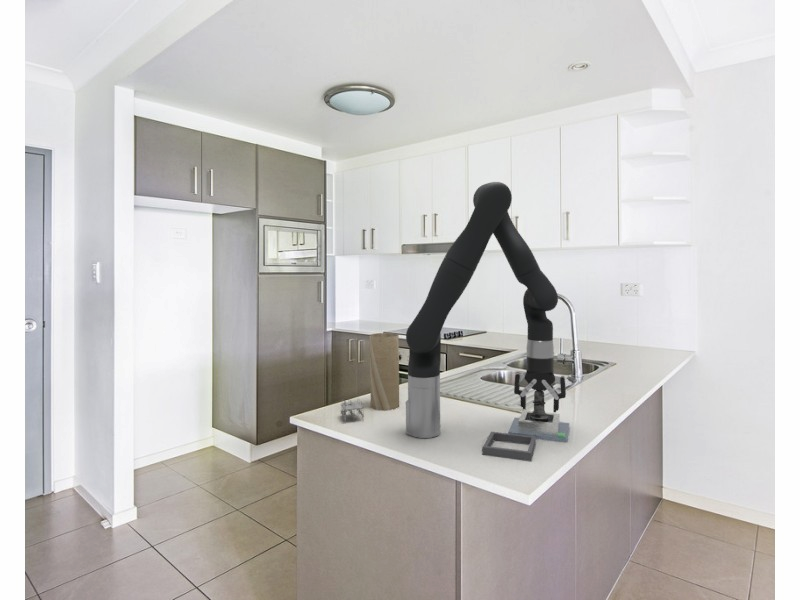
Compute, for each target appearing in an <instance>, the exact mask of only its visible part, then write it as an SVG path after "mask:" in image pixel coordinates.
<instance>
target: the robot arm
mask: <svg viewBox="0 0 800 600" xmlns="http://www.w3.org/2000/svg"><path fill="white" fill-rule="evenodd" d="M472 199H473V200H472V202H473V203H472V204H473V206H474V209H473V211H472V214H471V216H470V217H469V220H468V222H467V224H466V225H465V228H464V229H463V230H462V232H460V233H459V235H458V237H457V238H456V239H455V241H454V242H453V243H452V245H451V246H450V247H449V249H448V250H447V252H446V253H445V256H444V258H443V259H442V262H441V264H440V265H439V267H438V269H437V272H436V273H435V276H434V278H433V281H432V283H431V286H430V288H429V291H428V293H427V296H426V298H425V301H424V303H423V304H422V306H421V308H420V310H419V311H418V313H417V314H416V316H415V317H414V319H413V320H412V322H411V323H410V325H409V326H408V328H407V330H406V332H405V340H406V343H407V346H408V347H409V348H408V349H409V354H408V355H409V357H408V363H407V393H408V394H407V399H408V400H406V402H405V434H406V435H409V436H412V437H414V438H418V439H419V438H420V439H431V438H436V437H437V436H439V435H440V434H441V361H442V360H441V357H442V356H441V355H442V353H441V350H442V349H441V348H442V347H441V343H442V342H441V341H442V339H441V337H442V335H441V334H442V333H441V331H442V329H443V327H444V325H445V322H446V320H447V318H448V315H450V312H451V310H452V308H453V307H454V306H455V304H456V303H457V301H458V300H459V299H460V298H461V296H462V295H463V293H464V291H465V289H466V288H467V286H468V285H469V283H470V282H471V279H472V278H473V275H474V273H475V271H476V269H477V267H478V265H479V263H480V261H481V258H482V257H483V255H484V252H485V251H486V248H487V246H488V244H489V241H490V239H491V237H492V235H493V236H494V237H495V239H496V241H497V243H498V245H499V246H500V248H501V250H502V252H503V255H504V256H505V258H506V260H507V263H508V265H509V266H510V269H511V271H512V273H513V275H514V277H515V279H516V280H517V282H518V283H520V284H521V285H524V286H525V287H526V290H525V291H524V294H523V299H522V303H523V304H522V305H523V306H522V307H523V309H524V315H525V320H526V324H527V340H526V341H527V342H526V359H525V360H526V370H525V371H526V373H524V374H523V373H520V372H516V373H515V376H514V391H513V392H514V395H518V396H519V397H520V407H521V408H522V410H526V408H527V394H528V393H529V392H530V390H531V389H533V391H536V390H542V391H543V392H545V391H548V393H549V394H551V396H552V397H553V411H552V413H557V411H559V409H560V400H561V399H565V398H566V396H567V391H566V390H567V388H566V377H565V375H560V376H556V375H555V373H554V372H555V371H554V365H555V364H554V357H555V351H554V349H555V347H554V341H553V340H554V326H553V325H554V323H553V321H551V320H550V318H548V317H547V313H546V312H549V311H552V310H554V309H555V308H556V307H557V305H558V302H559V296H558V293H557V290H556V287H555V286H554V285H553V283H552V282H551V281H550V280H549V278H548V277H547V276H546V274H545V273H544V272H543V271H542V270H541V268H540V266H539V264H538V262H537V260H536V258H535V255H534V253H533V251H532V250H531V248H530V246H529V245H528V243H527V241H525V239H524V238H523V236H522V234H520V233H519V231H518V230H517V228H516V226H515V224H514V223H513V221H512V218H511V217H510V215H509V209H510V208H511V204H512V199H513V197H512V191H511V189H510V188H509V186H508V185H506V183H504V182H500V181H491V182H487V183H484V184H481V185H480V186H479V187H478V188H477V189H476V190H475V191H474V193H473V197H472ZM523 379H524V380H525V381H526V383H527V384H526V386H525V387H524V388H523V389H522V390H521V389H520V388H521V387H520V386H521V385H520V384H521V382H522V381H523ZM555 381H556V382H557V385H560V393H558V392H557V390H556V389H555V387H554V385H553V384H554V382H555Z"/></svg>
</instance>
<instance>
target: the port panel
mask: <svg viewBox="0 0 800 600" xmlns="http://www.w3.org/2000/svg"><path fill="white" fill-rule="evenodd" d="M532 412H533V411H532V410H525V409H522V413H521V414H520V416H519V417H514V418H513V420H512V423H511V424H510V426H509V428H508V432H507V433H508V434H516V435H525V436H534V437H536V440H544V441H552V442H561V443H562V442H563V443H568V442H569V434H570V433H569V432H570V423H569V422H563V421H561V419H560V416H561V415H560V414H561V413H556V412H545V413H546V414H548V415H549V416H550V417H549V418H548V422H540V421H531V420H530V417H529V414H530V413H532Z"/></svg>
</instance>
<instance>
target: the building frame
mask: <svg viewBox="0 0 800 600" xmlns="http://www.w3.org/2000/svg"><path fill="white" fill-rule="evenodd" d="M340 407H341V408H340V415H341V418H342V419H343V420H342V419H341V420H342V421H343V422H344V423H345V424H346V422H347V412H349V415H350V417H351V419H352V421H354V419H356V413H355V412H356V411H357V415H360V416H361V420H363V421H364V419H365V418H364V417H365V415H364V413H363V410H364V406H363V402H362V401H361V400H360V402H359V400H356V401H352V399H349V401H348V402H346V400H345V399H343V401H341V403H340Z"/></svg>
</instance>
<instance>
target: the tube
mask: <svg viewBox="0 0 800 600" xmlns="http://www.w3.org/2000/svg"><path fill="white" fill-rule="evenodd" d="M399 348H400V344H399V334H398V333H394V332H393V333H392V332H379V333H371V334H369V371H370V372H369V376H370V378H369V379H370V380H369V381H370V383H369V385H370V408H371V409H372V410H377V411H392V409H393V410H396V408H397V409H399V407H400V359H399V358H400V357H399V356H400V353H399Z"/></svg>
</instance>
